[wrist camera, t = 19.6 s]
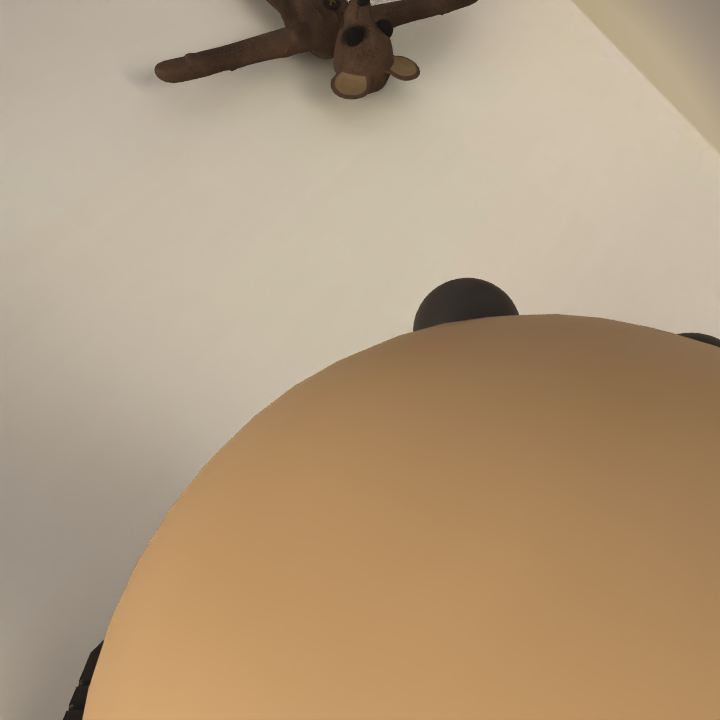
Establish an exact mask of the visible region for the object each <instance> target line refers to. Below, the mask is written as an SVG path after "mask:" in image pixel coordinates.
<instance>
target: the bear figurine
mask: <svg viewBox="0 0 720 720" xmlns="http://www.w3.org/2000/svg"><path fill="white" fill-rule="evenodd" d="M267 1H268V2H269V3H270V4H271V5H272V6H273V7H274V8H275V9H276V10H277V11H278V12H279V13H280V14H281V16H282V19H283V21H284V24H285V26H286V27H285V28H282V29H278V30H275V31H272V32H268V33H265V34H262V35H258V36H255V37H252V38H249V39H245V40H242V41H239V42H235V43H232V44H229V45H225V46H221V47H218V48H214V49H209V50H205V51H201V52H198V53H188V54H186V55H185V56H184V57H179V58H175V59H170V60H166V61H163V62H160V63H158V64H157V65H156V66H155V74H156V75H157V77H158V78H159V79H161V80H163V81H165V82H169V83H178V82H184V81H188V80H193V79H197V78H202V77H206V76H209V75H213V74H216V73H219V72H222V71H226V70H230V71H233V70H235V69H237V68H241V67H244V66H247V65H250V64H254V63H258V62H262V61H267V60H271V59H276V58H284V57H289V56H292V55H295V54H298V53H302V52H307V51H311V52H312V53H314V54H315V55H316V56H318V57H320V58H325V59H330V58H333V62H334V69H335V72H336V75H335V76H334V77H333V78H332V80H331V88H332V90H333V92H334V93H335V94H336V95H337V96H339V97H341V98H345V99H358V98H362V97H365V96H366V95H367V94H370V93H373V92H376V91H379V90H380V89H382V88H383V87H384V86H385V84H386V82H387V80H388V78H389V76H390V75H392V76H394V77H395V78H397V79H400V80H404V81H409V80H413V79H416V78H417V77H418V76H419V75H420V70H419V67H418V66H417V64H416V63H415V62H413V61H412V60H410V59H408V58H406V57H402V56H394V55H393V49H392V44H391V40H390V37H391V36H392V33H393V28H394V27H396V26H399V25H402V24H405V23H409V22H412V21H416V20H420V19H425V18H428V17H432V16H435V15H443V14H446V13H449V12H451V11H454V10H457V9H460V8H463V7H466V6H469V5H471V4H474V3H475V2H477V1H478V0H400V1H395V2H390V3H385V4H379V5H374V6H371V4H370V0H350V1H349V3H348V2H347V0H267Z"/></svg>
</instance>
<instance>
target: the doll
mask: <svg viewBox="0 0 720 720" xmlns="http://www.w3.org/2000/svg"><path fill="white" fill-rule="evenodd" d="M82 720H720V339H718V338H715V337H713V336H709V335H705V334H700V333H681V334H674V333H670V332H666V331H662V330H658V329H654V328H650V327H646V326H641V325H635V324H630V323H625V322H620V321H615V320H609V319H604V318H596V317H584V316H572V315H560V314H546V315H519V313H518V311H517V309H516V307H515V305H514V303H513V302H512V300H511V299H510V298H509V296H508V295H507V294H506V293H505V292H504V291H502V290H501V289H500V288H498V287H497V286H495V285H494V284H492V283H490V282H487V281H484V280H481V279H475V278H460V279H455V280H451V281H448V282H446V283H444V284H442V285H440V286H438V287H437V288H435V289H434V290H433V291H432V292H430V293H429V294H428V295H427V296H426V298H425V299H424V300H423V302H422V303H421V305H420V307H419V309H418V311H417V313H416V316H415V320H414V326H413V332H411V333H407V334H403V335H400V336H397V337H395V338H392V339H390V340H387V341H385V342H383V343H380V344H378V345H375V346H373V347H371V348H368V349H366V350H363V351H361V352H358V353H356V354H354V355H351V356H349V357H347V358H344V359H342V360H339V361H337V362H335V363H334V364H332V365H330V366H328V367H327V368H325V369H323V370H321V371H320V372H318V373H316V374H314V375H313V376H311V377H309V378H307V379H306V380H304V381H302V382H300V383H299V384H297V385H295V386H294V387H292V388H291V389H290V390H288V391H287V392H286V393H284V394H283V395H282V396H281V397H279V398H278V399H277V400H275V401H274V402H273V403H271V404H270V405H269V406H267V407H266V408H265V409H263V410H262V411H261V412H259V413H258V414H257V415H255V416H254V417H253V418H252V419H251V420H250V421H249V422H248V423H247V424H246V425H245V426H244V427H243V428H242V429H241V430H240V431H239V432H238V433H237V434H236V435H235V436H234V437H233V438H232V439H231V440H230V441H229V442H228V443H226V444H225V445H224V446H223V447H222V448H221V449H220V450H219V451H218V452H217V453H216V454H215V455H214V456H213V457H212V458H211V459H210V460H209V461H208V462H207V464H206V465H205V466H204V467H203V468H202V469H201V471H200V472H199V473H198V475H197V476H196V477H195V478H194V480H193V481H192V482H191V483H190V485H189V486H188V487H187V488H186V490H185V491H184V492H183V493H182V495H181V496H180V497H179V498H178V500H177V501H176V502H175V503H174V505H173V506H172V507H171V508H170V510H169V511H168V513H167V515H166V516H165V518H164V520H163V521H162V523H161V524H160V526H159V528H158V529H157V531H156V533H155V534H154V536H153V537H152V539H151V541H150V542H149V544H148V546H147V547H146V549H145V551H144V552H143V554H142V555H141V557H140V559H139V560H138V562H137V564H136V567H135V569H134V571H133V573H132V575H131V578H130V580H129V582H128V584H127V586H126V588H125V591H124V593H123V595H122V597H121V599H120V601H119V604H118V606H117V608H116V610H115V612H114V614H113V617H112V619H111V621H110V624H109V627H108V630H107V633H106V637H105V640H104V643H103V646H102V649H101V652H100V655H99V658H98V661H97V664H96V667H95V670H94V674H93V677H92V680H91V683H90V686H89V689H88V694H87V699H86V704H85V709H84V714H83V719H82Z"/></svg>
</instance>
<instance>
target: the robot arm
mask: <svg viewBox="0 0 720 720" xmlns="http://www.w3.org/2000/svg"><path fill="white" fill-rule="evenodd" d="M104 640H105V639H104ZM104 640H103V641H102V642H101V643H100V644H99V645H98V646H97V647H96V648H95V649H94V650H93V651H92V652H91V653H90V656H89V658H88V660H87V663H86V665H85V668H84V670H83V672H82V675H81V677H80V680H79V686H77V687H76V689H75V692H74V694H73V697H72V699H71V701H70V704H69V710H68V711H66V714H65V716H64V718H63V720H82V719H83V714H84V709H85V704H86V699H87V694H88V689H89V686H90V683H91V680H92V677H93V674H94V670H95V667H96V664H97V661H98V658H99V655H100V652H101V649H102V646H103V643H104Z"/></svg>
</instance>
